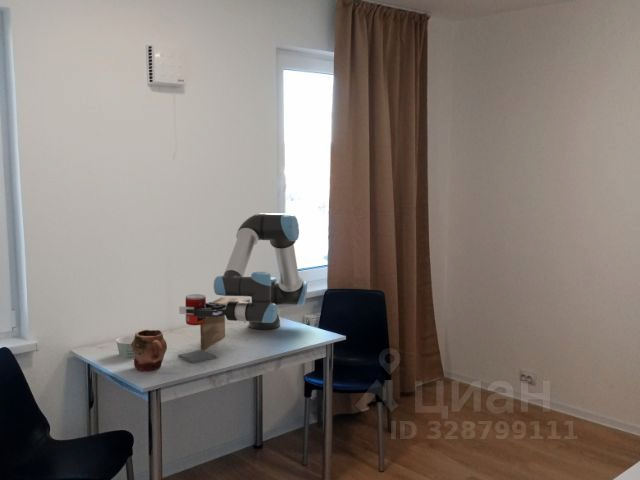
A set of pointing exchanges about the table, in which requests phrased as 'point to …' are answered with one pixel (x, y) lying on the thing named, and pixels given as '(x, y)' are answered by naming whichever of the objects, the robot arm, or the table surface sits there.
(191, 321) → the canned food
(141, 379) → the table surface
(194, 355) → the rubber mat
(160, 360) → the terracotta animal pitcher
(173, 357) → the table surface
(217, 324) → the walnut shelf
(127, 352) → the food container
